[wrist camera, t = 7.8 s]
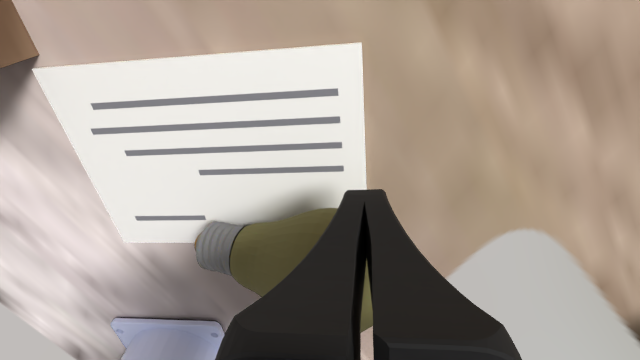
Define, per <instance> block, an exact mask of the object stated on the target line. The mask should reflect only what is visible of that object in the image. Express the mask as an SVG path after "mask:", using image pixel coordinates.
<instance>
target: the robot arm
mask: <svg viewBox="0 0 640 360" xmlns="http://www.w3.org/2000/svg"><path fill="white" fill-rule="evenodd" d="M366 259H367V267H368V275H369V284H370V293H371V301H372V310H373V347H374V360H522V359H521V357H520V354H519V352H518V351H517V349H516V347H515V345H514V343H513V341H512V339H511V337H510V336H509V334H508V332H507V331H506V329H505V327H504V326H503V325H502V324H501V323H500V322H498V321H497V320H495V319H494V318H493V317H491V316H490V315H489V314H487V313H486V312H484V311H483V310H481V309H480V308H479V307H477V306H476V305H474V304H473V303H472V302H471V301H470V300H468V299H467V298H466V297H465V296H463V295H462V294H461V293H460V292H459V291H458V290H457V289H456V288H454V287H453V286H452V285H451V284H450V283H449V282H448V281H447V280H446V279H445V278H444V277H443V276H442V275H441V274H440V273H439V272H438V271H437V270H436V269H435V268H434V267H433V266H432V265H431V264H430V263H429V262H428V260H427V259H426V258H425V257H424V256H423V255H422V254H421V252H420V251H419V250H418V249H417V247H416V246H415V245H414V243H413V242H412V240H411V239H410V238H409V236H408V235H407V233H406V232H405V230H404V229H403V227H402V226H401V224H400V222H399V221H398V219H397V217H396V216H395V214H394V212H393V210H392V208H391V206H390V204H389V201H388V199H387V196H386V193H385V191H383V190H382V189H377V190H347V191H346V192H345V193H344V196H343V199H342V201H341V203H340V205H339V207H338V209H337V211H336V213H335V215H334V216H333V218H332V220H331V222H330V223H329V225H328V227H327V228H326V230H325V231H324V233H323V234H322V235H321V237H320V238H319V240H318V241H317V243H316V244H315V245H314V246H313V248H312V249H311V250H310V252H309V253H308V254H307V255H306V256H305V257H304V259H303V260H302V261H301V262H300V263H299V264H298V265H297V266H296V267H295V268H294V269H293V270H292V271H291V272H290V273H289V274H288V275H287V276H286V277H285V278H284V279H283V280H282V281H281V282H280V283H278V284H277V285H276V286H275V287H274V288H272V289H271V290H270V291H269V292H268V293H267V294H265V295H264V296H263V297H262V298H260V299H259V300H258V301H256V302H255V303H253V304H252V305H250V306H249V307H247V308H246V309H245V310H243V311H242V312H240V313H239V314H237V315H235V316H234V318H233V320H232V322H231V323H230V325H229V327H228V329H227V331H226V333H225V334H224V332H223V329H222V327H221V325H220V324H219V323H218V322H215V321H192V320H163V319H134V318H115V319H113V321H112V322H111V324H110V325H111V327H112V329H113V330H114V332H115V333H116V334H117V336H118V337H119V339H120V340H121V342H122V343H123V345H124V346H125V348H126V351H125V353H124V355H123V356H122V358H121V360H360V329H361V310H362V300H363V290H364V280H365V270H366Z"/></svg>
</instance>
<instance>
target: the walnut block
mask: <svg viewBox="0 0 640 360" xmlns="http://www.w3.org/2000/svg"><path fill="white" fill-rule="evenodd" d="M38 55H39V53H38V51H37V49H36V47H35V45H34V43H33V42H32V40H31V38H30V36H29V34H28V32H27V30H26V28H25V26H24V24H23V22H22V20H21V18H20V16H19V14H18V12H17V10H16V8H15V6H14V4H13V2H12V0H0V68H2V67H5V66H8V65H11V64H14V63H17V62H20V61H23V60H26V59H29V58H32V57H35V56H38Z"/></svg>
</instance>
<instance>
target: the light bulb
mask: <svg viewBox="0 0 640 360" xmlns="http://www.w3.org/2000/svg"><path fill="white" fill-rule="evenodd" d="M337 209H338V208H321V209H316V210H311V211H307V212H304V213H301V214H298V215H295V216H292V217H289V218H287V219H283V220H280V221H274V222H262V223H254V224H248V225H245V226H243V225H236V224H230V223H224V222H218V221H213V222H211V223H209V224H208V225H207V226H206V227H205V228H204V230H203V231H202V232H201V233H200V234H199V235H198V236H197V238H196V240H195V250H196V256H197V261H198V264H199V265H200V266H201V267H202V268H203V269H208V270H211V271H218V272H221V273H224V274H227V275H231V276H233V278H234V279H235V280H236V281H237V282H238V283H239V284H241V285H242V286H244V287H246V288H248V289H250V290H252V291H254V292H255V293H257V294H259V295H260V296H261V297H263V296H264V295H265V294H267V293H268V292H269V291H270V290H271V289H272V288H274V287H275V286H276V285H277V284H278V283H280V282H281V281H282V280H283V279H284V278H285V277H286V276H287V275H288V274H289V273H290V272H291V271H292V270H293V269H294V268H295V267H296V266H297V265H298V264H299V263H300V262H301V261H302V260H303V259H304V257H305V256H306V255H307V254H308V253H309V252H310V250H311V249H312V248H313V246H314V245H315V244H316V243H317V241H318V240H319V238H320V237H321V235H322V234H323V233H324V231H325V230H326V228H327V227H328V225H329V223H330V222H331V220H332V218H333V216H334V215H335V213H336V211H337ZM371 326H373V310H372V301H371V293H370V284H369V275H368V267H367V259H366V270H365V280H364V290H363V300H362V310H361V329H360V333H361V332H363V331H365V330H366V329H368V328H370V327H371Z"/></svg>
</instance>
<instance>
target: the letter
mask: <svg viewBox="0 0 640 360" xmlns="http://www.w3.org/2000/svg"><path fill="white" fill-rule="evenodd" d="M32 71H33V73H34V75H35V77H36V78H37V80H38V82H39V84H40V86H41V88H42V90H43V92H44V93H45V95H46V97H47V99H48V101H49V103H50V105H51V107H52V109H53V110H54V112H55V114H56V116H57V118H58V120H59V122H60V124H61V125H62V127H63V129H64V131H65V133H66V135H67V137H68V139H69V140H70V142H71V144H72V146H73V148H74V150H75V152H76V154H77V155H78V157H79V159H80V161H81V163H82V165H83V167H84V169H85V170H86V172H87V174H88V176H89V178H90V180H91V182H92V184H93V185H94V187H95V189H96V191H97V193H98V195H99V197H100V199H101V200H102V202H103V204H104V206H105V208H106V210H107V212H108V214H109V215H110V217H111V219H112V221H113V223H114V225H115V227H116V229H117V231H118V232H119V234H120V236H121V238H122V240H123V242H124V243H195V240H196V238H197V236H198V235H199V234H200V233H201V232H202V231H203V230H204V228H205V227H206V226H207V225H208V224H209V223H211V222H213V221H218V222H224V223H230V224H236V225H243V226H245V225H248V224H254V223H262V222H274V221H280V220H283V219H287V218H289V217H292V216H295V215H298V214H301V213H304V212H307V211H311V210H316V209H321V208H338V207H339V205H340V203H341V201H342V199H343V196H344V193H345V192H346V191H347V190H367V186H366V156H365V126H364V96H363V66H362V42H359V43H346V44H333V45H320V46H308V47H295V48H282V49H269V50H257V51H244V52H231V53H219V54H206V55H193V56H180V57H168V58H155V59H142V60H129V61H117V62H104V63H91V64H79V65H66V66H53V67H40V68H33V69H32Z"/></svg>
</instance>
